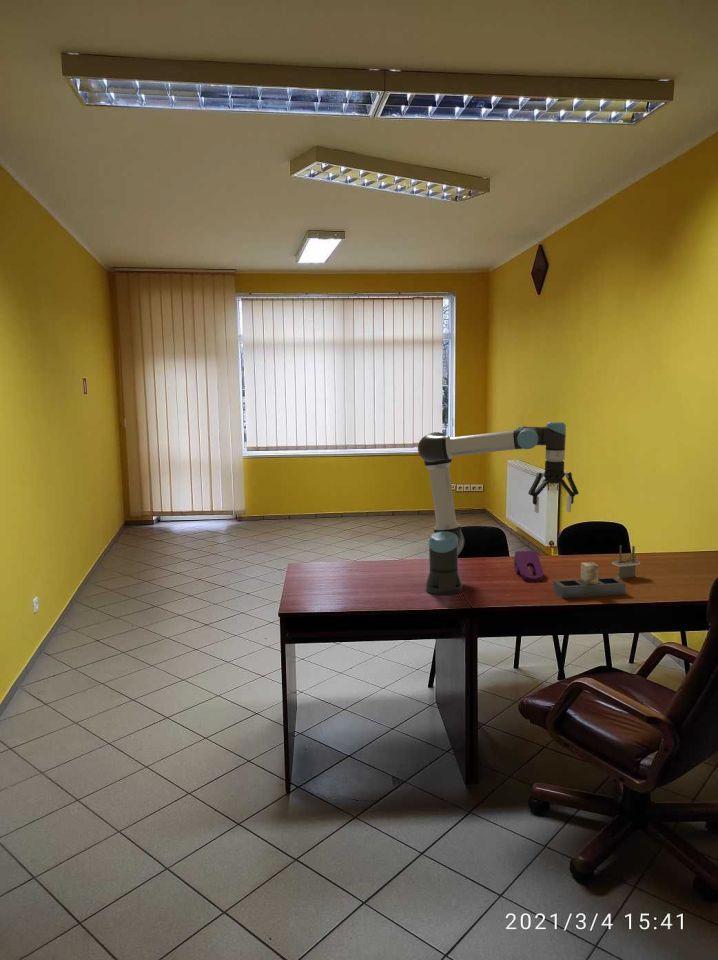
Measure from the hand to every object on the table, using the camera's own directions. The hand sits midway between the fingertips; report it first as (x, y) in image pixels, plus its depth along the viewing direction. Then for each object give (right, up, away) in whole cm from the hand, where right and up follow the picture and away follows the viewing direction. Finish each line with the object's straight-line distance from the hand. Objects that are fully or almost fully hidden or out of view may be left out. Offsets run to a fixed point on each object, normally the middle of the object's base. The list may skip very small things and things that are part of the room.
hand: (552, 512), depth 270 cm
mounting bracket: (-4, -30, +21) cm, 37 cm away
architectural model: (+36, -29, +16) cm, 49 cm away
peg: (+13, -32, -5) cm, 35 cm away
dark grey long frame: (+13, -32, -5) cm, 35 cm away
